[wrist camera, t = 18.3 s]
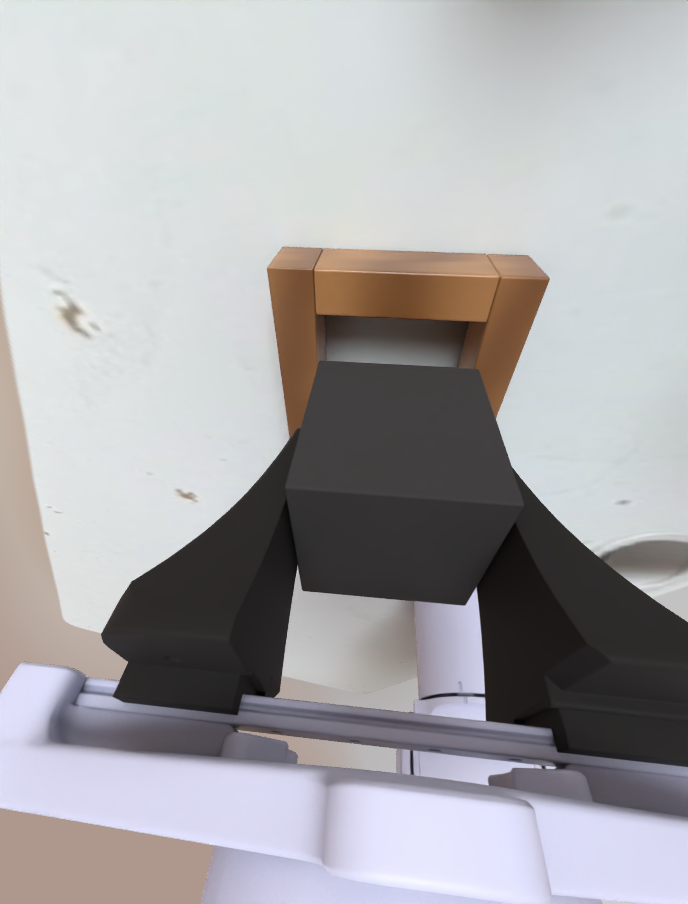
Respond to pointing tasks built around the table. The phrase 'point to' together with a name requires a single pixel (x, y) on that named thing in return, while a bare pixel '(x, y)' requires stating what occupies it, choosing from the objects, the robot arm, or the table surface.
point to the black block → (399, 483)
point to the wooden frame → (402, 306)
